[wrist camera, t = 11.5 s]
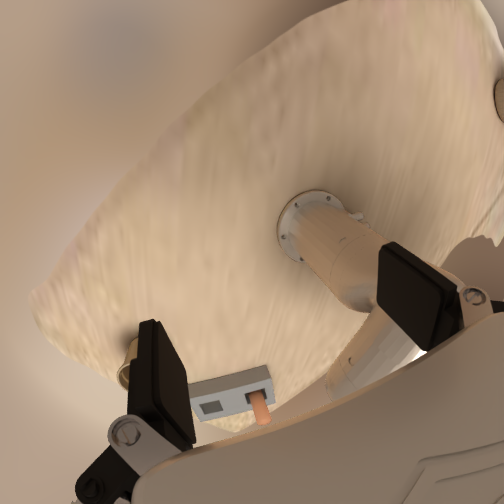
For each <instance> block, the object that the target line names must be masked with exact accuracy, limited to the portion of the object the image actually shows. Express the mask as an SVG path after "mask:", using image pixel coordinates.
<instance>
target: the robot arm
mask: <svg viewBox="0 0 504 504" xmlns="http://www.w3.org/2000/svg"><path fill="white" fill-rule="evenodd" d="M326 197H327V198H326ZM295 203H296V205H295ZM363 219H364V215H363V213H362V212H357V213H354V214H351V213H349V212H347V211H346V210H345V208H344V206H343V204H342V203H341V202H340V201H339V200H338V199H337V198H336V197H335V196H333V195H332V194H329V193H327V192H324V191H314V190H313V191H308V192H305V193H302V194H300V195H298V196H297V197H295V198H294V199H293V200H292V201H290V202H289V203H288V204H287V206H286V207H285V208H284V210H283V212H282V214H281V216H280V218H279V222H278V227H277V237H278V241H279V244H280V246H281V248H282V250H283V251H284V252H285V253H286V255H288V256H289V257H290V258H291V259H293V260H294V261H297V262H299V263H306V264H308V265H309V266H310V267H311V268H312V270H313V271H314V272H315V273H316V274H317V275H318V276H319V278H320V279H321V280H322V281H323V282H324V283H325V285H326V286H327V287H328V288H329V289H330V290H331V292H332V293H333V294H334V295H335V296H336V297H337V299H338V300H339V301H340V302H341V303H342V304H343V305H345V306H346V307H348V308H349V309H352V310H354V311H357V312H363V313H370V314H369V316H368V317H367V319H366V320H365V321H364V324H363V325H362V326H361V328H360V329H359V330H358V332H357V333H356V334H355V336H354V337H353V338H352V340H351V341H350V342H349V343H348V345H347V346H346V347H345V348H344V350H343V351H342V352H341V354H340V355H339V356H338V357H337V359H336V360H335V361H334V363H333V364H332V365H331V367H330V369H329V371H328V373H327V376H326V380H325V386H326V391H327V394H328V396H329V398H330V399H331V401H332V402H331V403H328V404H326V405H324V406H321V407H319V408H316V409H314V410H311V411H309V412H306V413H304V414H301V415H299V416H296V417H293V418H291V419H288V420H285V421H282V422H279V423H276V424H273V425H270V426H267V427H264V428H261V429H258V430H255V431H252V432H249V433H245V434H242V435H239V436H235V437H232V438H228V439H224V440H221V441H217V442H214V443H211V444H207V445H203V446H200V447H196V448H193V445H192V444H195V443H196V436H195V430H194V424H193V417H192V411H191V404H190V397H189V390H188V383H187V375H186V370H185V368H184V365H183V363H182V362H181V360H180V358H179V356H178V354H177V352H176V351H175V349H174V347H173V345H172V343H171V341H170V339H169V337H168V335H167V333H166V331H165V329H164V327H163V325H162V324H161V322H160V321H158V322H156V321H155V320H154V319H151V320H147V321H143V322H140V324H139V334H138V347H137V358H134V359H132V360H131V361H130V369H129V384H128V404H127V415H124V416H121V417H119V418H117V419H116V420H115V421H114V422H113V423H112V424H111V425H110V428H109V430H108V441H109V443H110V446H109V447H108V448H107V449H106V450H105V451H104V452H103V453H102V454H101V455H100V456H99V457H98V458H97V459H96V460H95V461H94V462H93V463H92V464H91V466H89V467H88V468H87V470H86V471H85V472H84V473H83V474H82V475H81V476H80V477H79V478H78V480H77V482H76V485H75V492H76V496H77V498H78V499H77V500H76V502H73V501H72V503H71V504H504V302H501V301H492V300H490V299H489V296H488V294H487V293H486V292H485V291H484V290H483V289H481V288H479V287H476V286H465V285H464V283H463V282H462V281H460V280H459V279H458V278H457V277H455V276H454V275H453V274H451V273H449V272H447V271H445V270H443V269H441V268H439V267H437V266H435V265H432V264H430V263H428V262H425V261H423V260H421V259H420V258H418V257H417V256H415V255H414V254H412V253H411V252H409V251H408V250H406V249H405V248H403V247H402V246H400V245H399V244H397V243H396V242H389V241H388V240H386V239H385V238H383V237H382V236H380V235H379V234H377V233H376V232H374V231H372V230H371V229H370V226H369V224H368V223H362V224H361V223H360V222H358V221H359V220H363ZM282 235H283V236H282Z"/></svg>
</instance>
